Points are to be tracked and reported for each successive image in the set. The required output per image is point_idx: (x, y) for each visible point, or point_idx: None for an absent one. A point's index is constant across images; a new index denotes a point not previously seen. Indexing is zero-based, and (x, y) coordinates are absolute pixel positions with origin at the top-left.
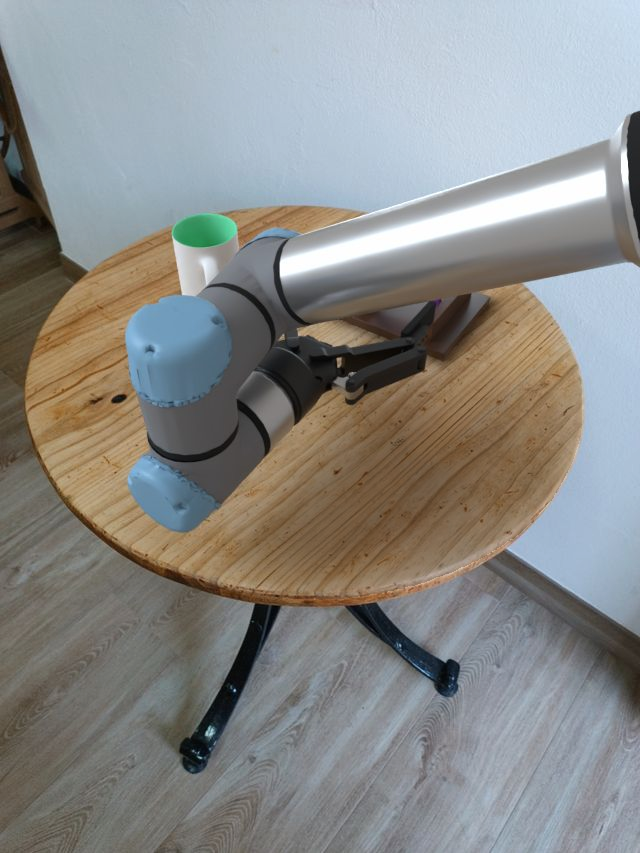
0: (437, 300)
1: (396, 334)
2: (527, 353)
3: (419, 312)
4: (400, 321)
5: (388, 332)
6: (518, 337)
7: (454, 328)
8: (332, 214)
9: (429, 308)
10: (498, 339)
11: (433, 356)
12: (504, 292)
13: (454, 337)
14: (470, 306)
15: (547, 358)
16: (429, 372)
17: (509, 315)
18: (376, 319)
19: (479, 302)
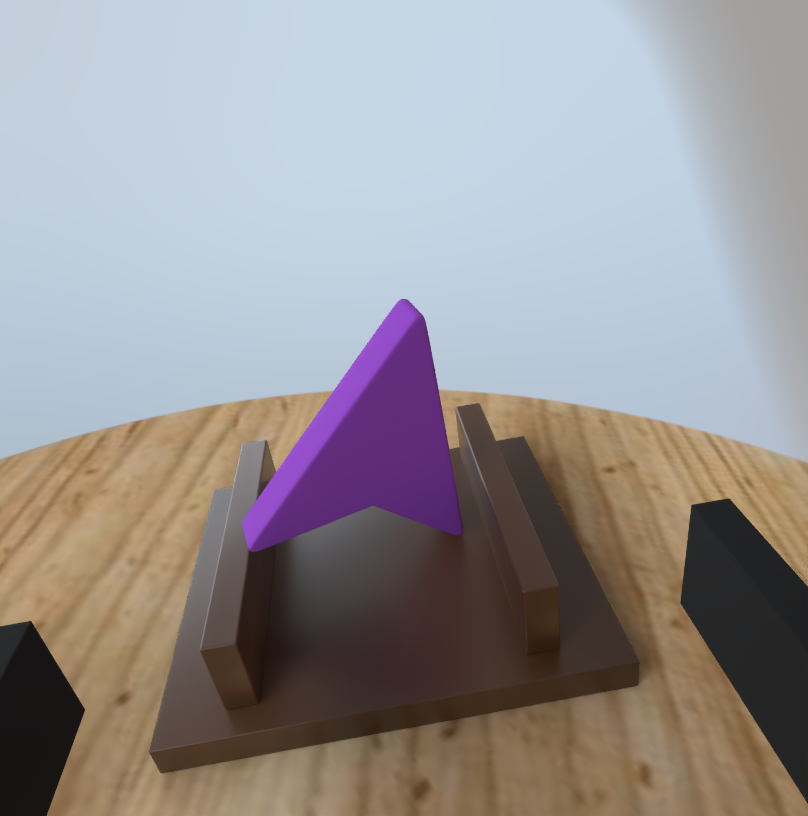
0: (454, 510)
1: (440, 697)
2: (749, 509)
3: (774, 605)
4: (405, 638)
5: (407, 708)
6: (676, 486)
7: (558, 558)
8: (11, 467)
9: (767, 547)
10: (652, 517)
11: (601, 689)
12: (519, 418)
13: (592, 584)
14: (516, 480)
15: (796, 493)
16: (662, 766)
17: (591, 453)
18: (329, 685)
19: (520, 460)
